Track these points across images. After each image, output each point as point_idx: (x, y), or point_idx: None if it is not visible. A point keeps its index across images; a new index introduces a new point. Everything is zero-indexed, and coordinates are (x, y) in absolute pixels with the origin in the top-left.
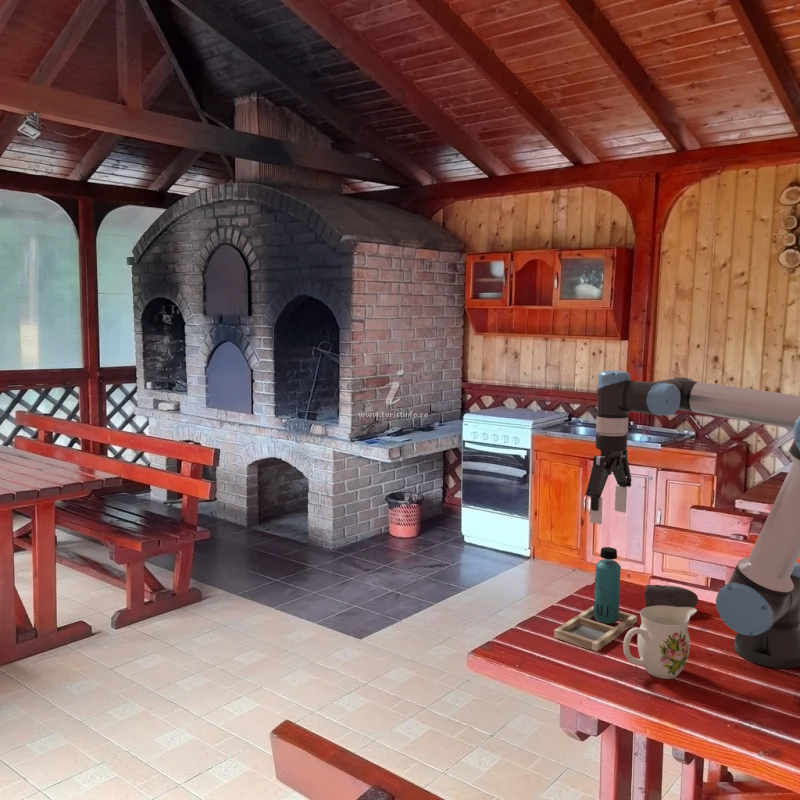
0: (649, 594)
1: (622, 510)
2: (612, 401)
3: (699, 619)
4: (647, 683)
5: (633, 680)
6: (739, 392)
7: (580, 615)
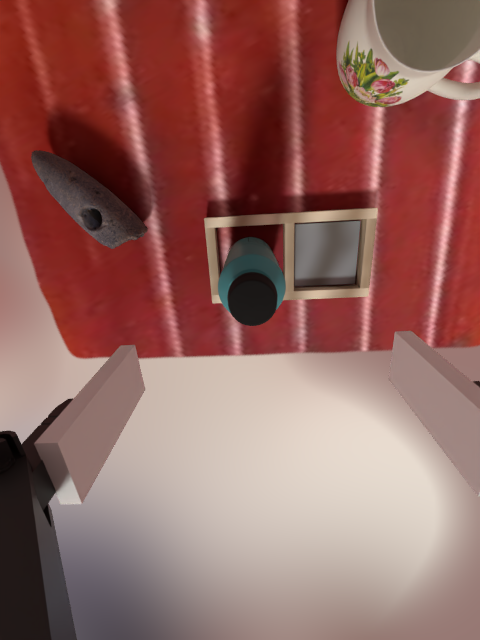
0: (134, 227)
1: (133, 360)
2: None
3: (88, 129)
4: None
5: None
6: None
7: None
